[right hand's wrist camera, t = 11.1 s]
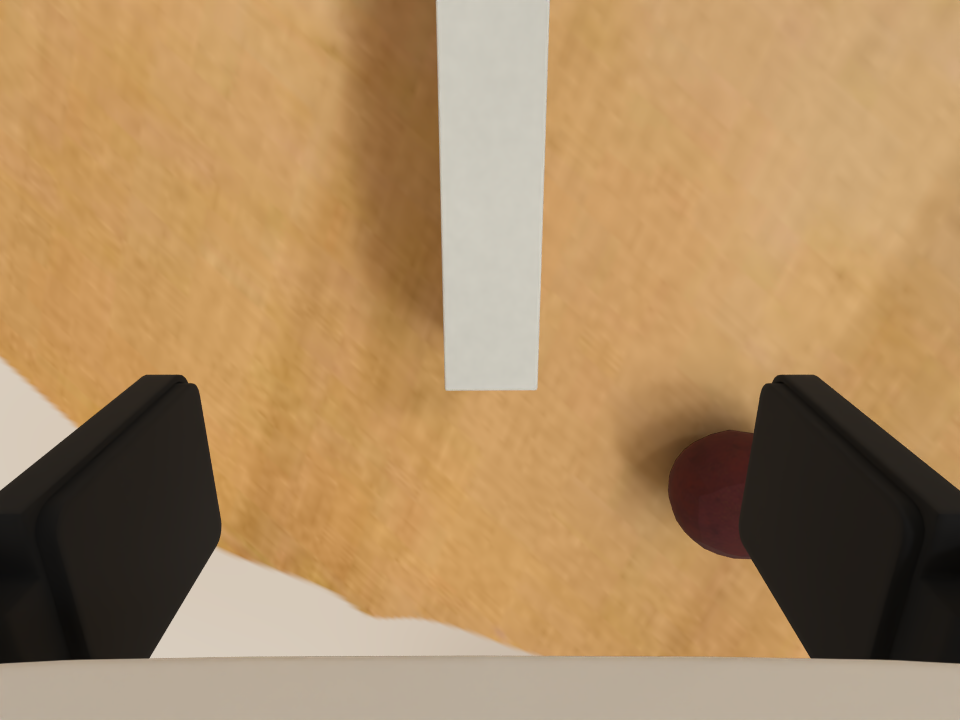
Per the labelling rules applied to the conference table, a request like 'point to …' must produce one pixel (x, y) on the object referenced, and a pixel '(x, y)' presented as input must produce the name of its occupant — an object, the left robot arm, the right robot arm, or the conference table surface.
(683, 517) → the potato
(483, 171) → the bar
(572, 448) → the conference table surface
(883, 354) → the conference table surface
